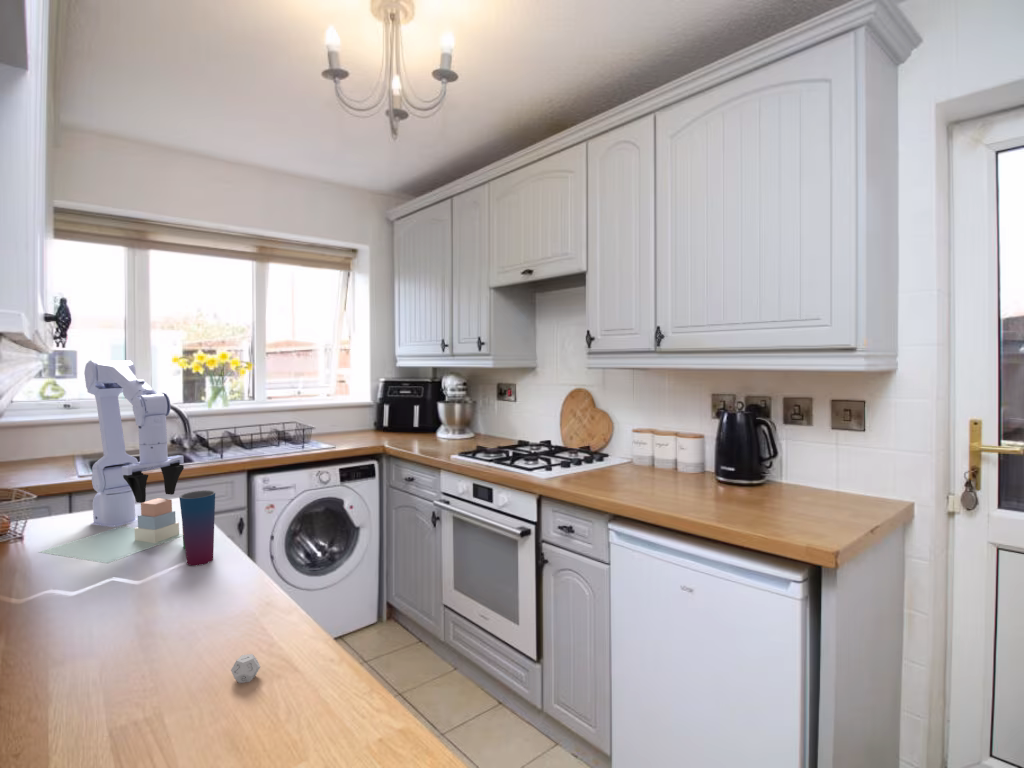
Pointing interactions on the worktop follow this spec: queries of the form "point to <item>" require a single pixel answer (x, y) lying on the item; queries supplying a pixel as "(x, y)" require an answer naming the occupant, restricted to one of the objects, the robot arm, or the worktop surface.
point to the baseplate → (105, 546)
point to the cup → (198, 525)
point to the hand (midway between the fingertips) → (155, 498)
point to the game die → (245, 668)
